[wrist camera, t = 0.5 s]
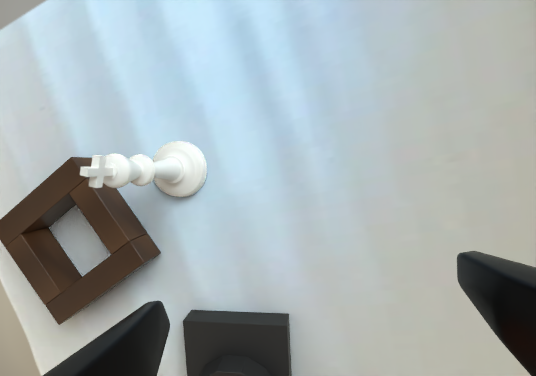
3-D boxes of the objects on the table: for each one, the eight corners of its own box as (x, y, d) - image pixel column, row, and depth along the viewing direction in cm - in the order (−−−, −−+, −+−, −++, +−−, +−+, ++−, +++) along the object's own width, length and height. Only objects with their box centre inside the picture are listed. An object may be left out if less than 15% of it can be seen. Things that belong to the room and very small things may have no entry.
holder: (161, 252, 24) (144, 262, 21) (82, 310, 25) (58, 325, 23) (95, 157, 24) (71, 156, 21) (21, 221, 26) (-9, 227, 23)
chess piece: (151, 190, 23) (37, 207, 13) (159, 136, 23) (46, 113, 13) (202, 202, 23) (121, 230, 13) (212, 147, 22) (135, 132, 12)
